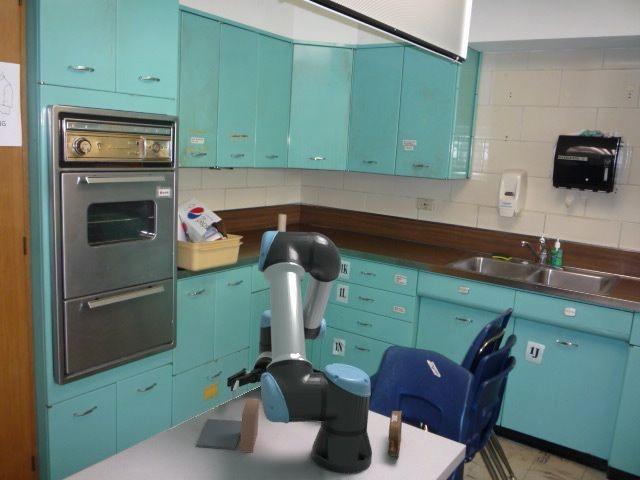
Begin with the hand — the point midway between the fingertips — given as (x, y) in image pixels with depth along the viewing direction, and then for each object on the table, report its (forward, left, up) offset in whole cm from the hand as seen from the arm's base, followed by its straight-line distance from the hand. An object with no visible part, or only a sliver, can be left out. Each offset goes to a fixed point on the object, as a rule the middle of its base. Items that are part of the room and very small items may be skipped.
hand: (257, 395), depth 163 cm
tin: (-38, +12, -6) cm, 40 cm away
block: (0, +15, -6) cm, 16 cm away
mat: (+8, +12, -6) cm, 16 cm away
